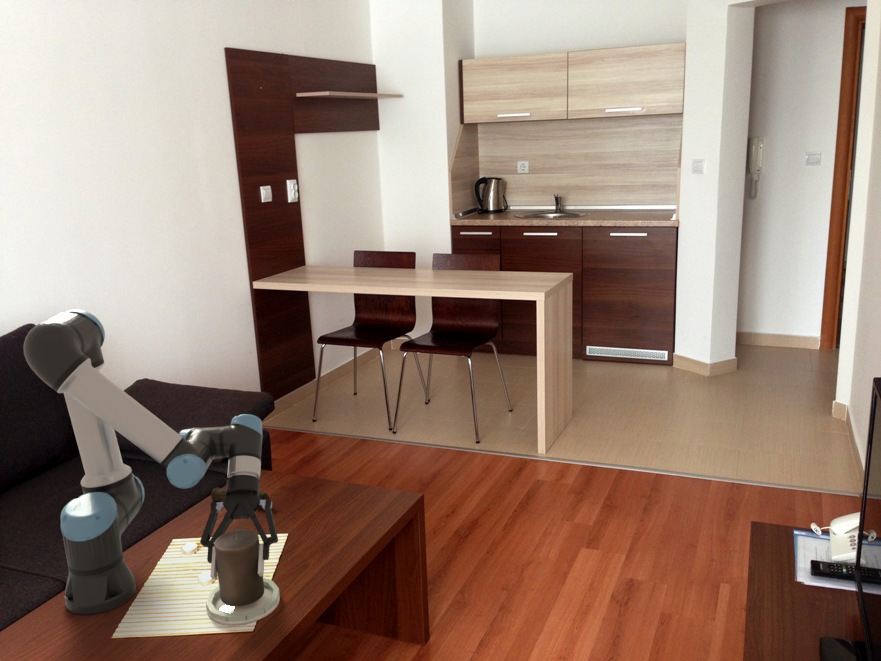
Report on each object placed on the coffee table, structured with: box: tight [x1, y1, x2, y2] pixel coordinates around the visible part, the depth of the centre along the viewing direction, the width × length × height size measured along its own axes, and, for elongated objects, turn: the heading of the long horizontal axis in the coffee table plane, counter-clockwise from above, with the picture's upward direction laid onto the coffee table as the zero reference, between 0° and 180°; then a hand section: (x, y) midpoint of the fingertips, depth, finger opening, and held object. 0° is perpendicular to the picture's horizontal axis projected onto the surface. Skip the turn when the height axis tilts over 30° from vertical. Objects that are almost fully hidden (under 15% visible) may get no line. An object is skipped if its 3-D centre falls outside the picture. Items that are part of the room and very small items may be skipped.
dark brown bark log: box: [210, 486, 271, 509], centre depth 225 cm, size 19×4×5 cm, turn 68°
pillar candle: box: [214, 528, 264, 606], centre depth 175 cm, size 10×10×15 cm
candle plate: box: [205, 577, 281, 626], centre depth 177 cm, size 16×16×2 cm
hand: (237, 576), depth 172 cm, fingers closed on pillar candle, 9 cm apart
